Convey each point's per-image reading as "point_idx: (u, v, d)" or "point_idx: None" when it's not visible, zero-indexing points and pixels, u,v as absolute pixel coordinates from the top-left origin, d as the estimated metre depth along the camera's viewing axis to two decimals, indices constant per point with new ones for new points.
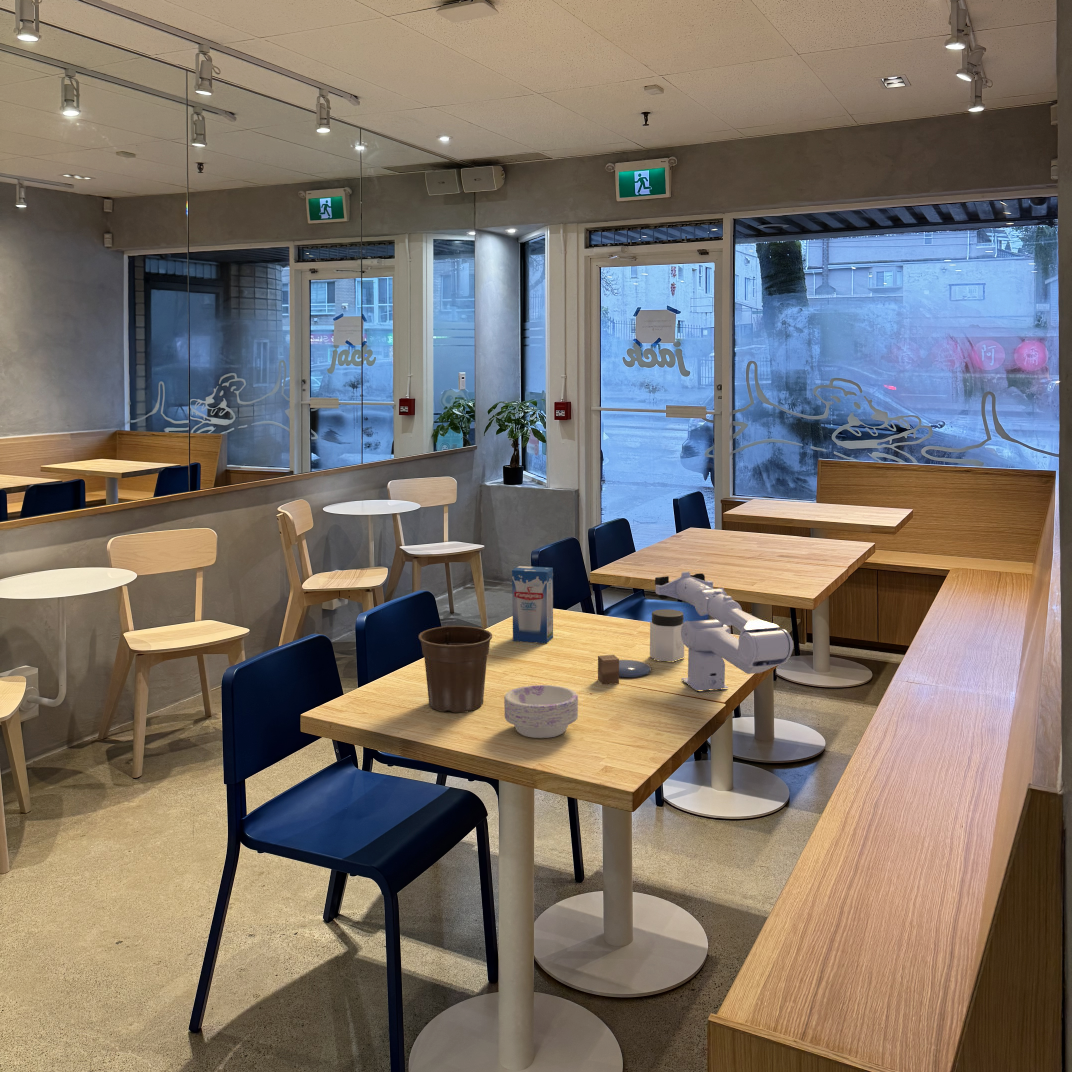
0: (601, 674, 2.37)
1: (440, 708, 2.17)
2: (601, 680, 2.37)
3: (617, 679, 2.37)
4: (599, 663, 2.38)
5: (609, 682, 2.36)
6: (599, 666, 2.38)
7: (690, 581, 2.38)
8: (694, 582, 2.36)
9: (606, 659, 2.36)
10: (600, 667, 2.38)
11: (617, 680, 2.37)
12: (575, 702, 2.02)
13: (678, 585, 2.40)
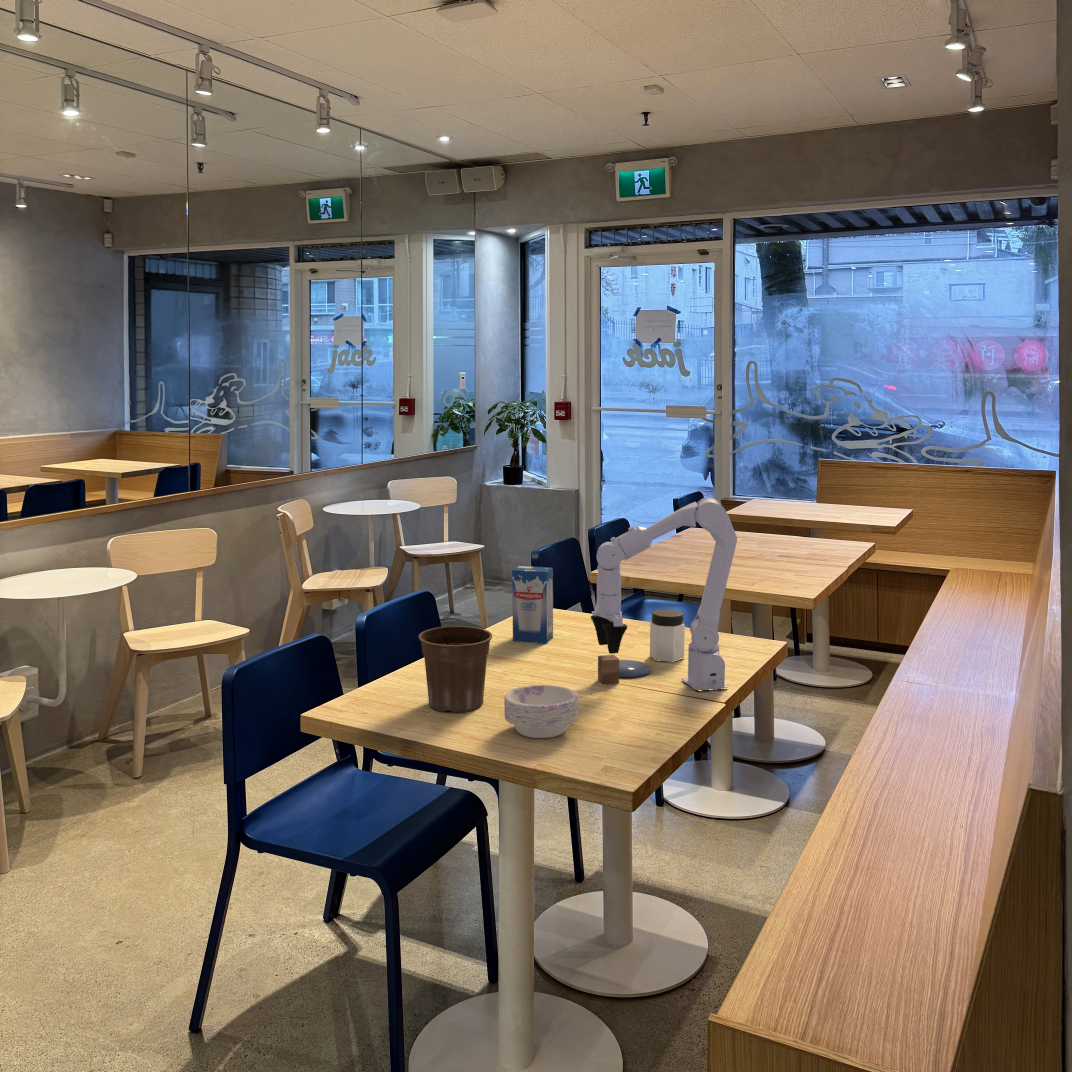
0: (601, 674, 2.37)
1: (440, 708, 2.17)
2: (601, 680, 2.37)
3: (617, 679, 2.37)
4: (599, 663, 2.38)
5: (609, 682, 2.36)
6: (599, 666, 2.38)
7: (599, 596, 2.34)
8: (597, 588, 2.35)
9: (606, 659, 2.36)
10: (600, 667, 2.38)
11: (617, 680, 2.37)
12: (575, 702, 2.02)
13: (607, 609, 2.33)
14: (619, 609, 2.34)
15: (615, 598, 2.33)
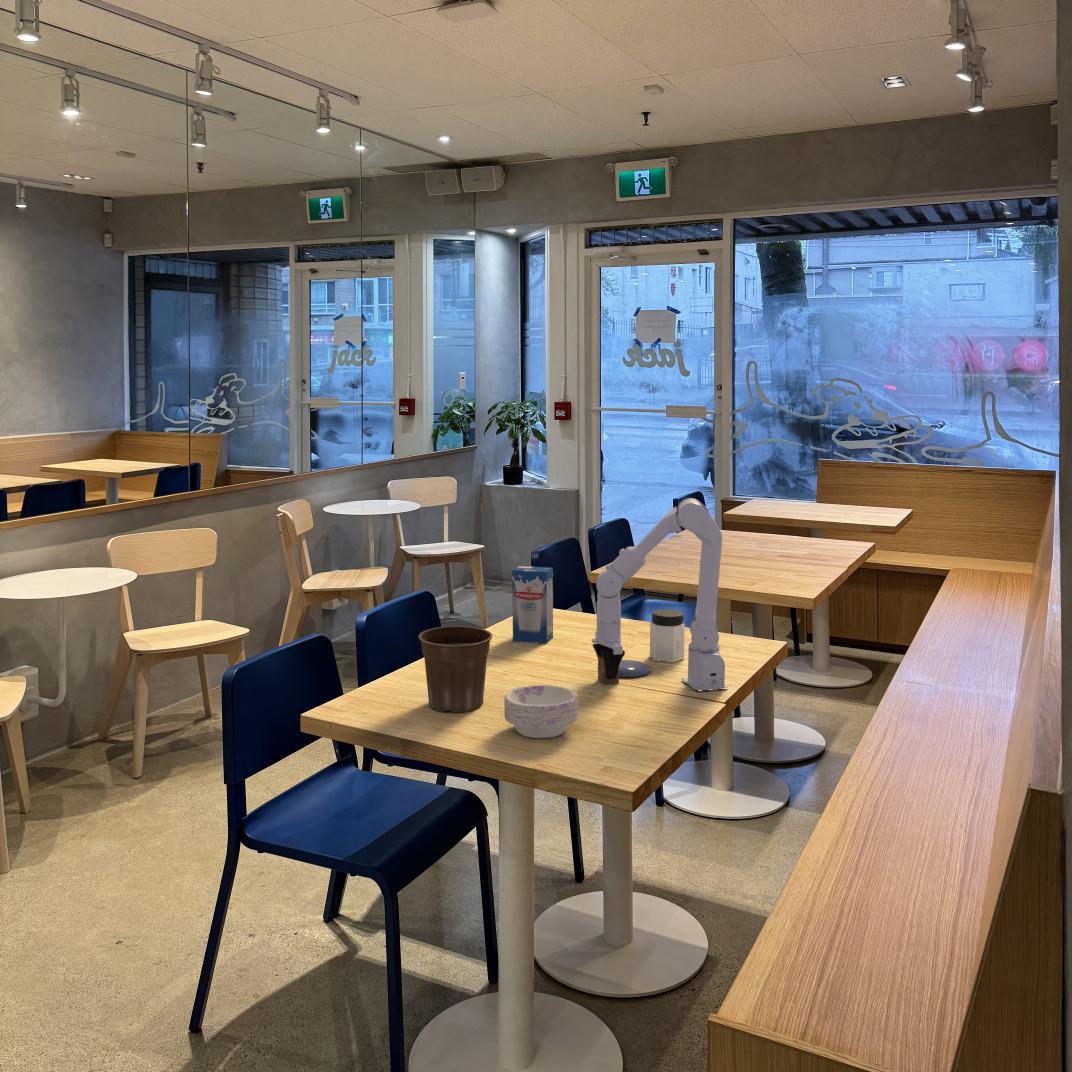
0: (601, 674, 2.37)
1: (440, 708, 2.17)
2: (601, 680, 2.37)
3: (617, 679, 2.37)
4: (599, 663, 2.38)
5: (609, 682, 2.36)
6: (599, 666, 2.38)
7: (598, 623, 2.35)
8: None
9: None
10: (600, 666, 2.38)
11: (617, 680, 2.37)
12: (575, 702, 2.02)
13: (607, 637, 2.34)
14: (619, 636, 2.35)
15: (615, 626, 2.34)
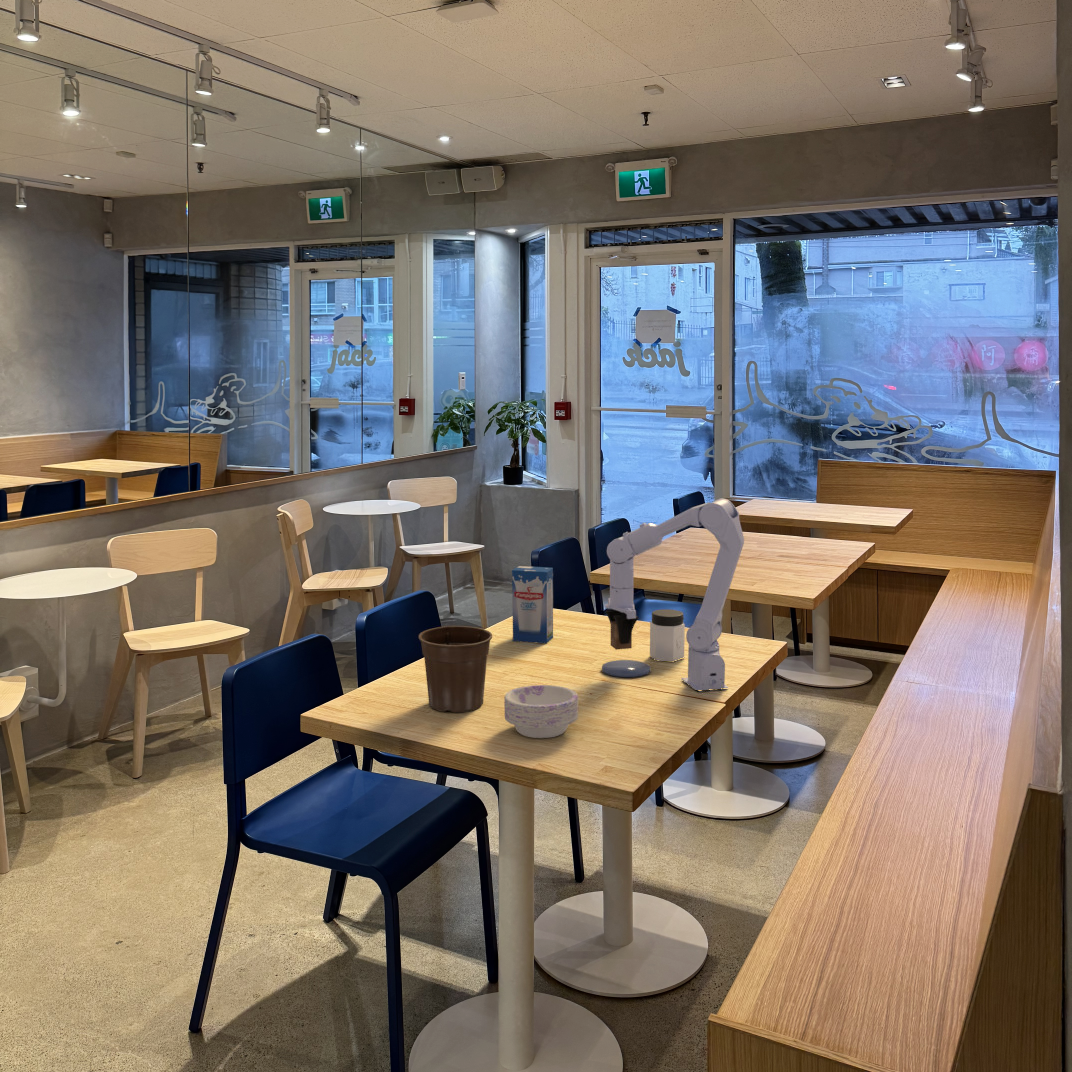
0: (614, 639, 2.41)
1: (440, 708, 2.17)
2: (614, 645, 2.42)
3: (629, 644, 2.41)
4: (612, 629, 2.43)
5: (622, 647, 2.41)
6: (612, 631, 2.43)
7: (612, 589, 2.39)
8: None
9: None
10: (613, 632, 2.42)
11: (630, 645, 2.42)
12: (575, 702, 2.02)
13: (620, 602, 2.39)
14: (632, 602, 2.40)
15: (628, 591, 2.38)
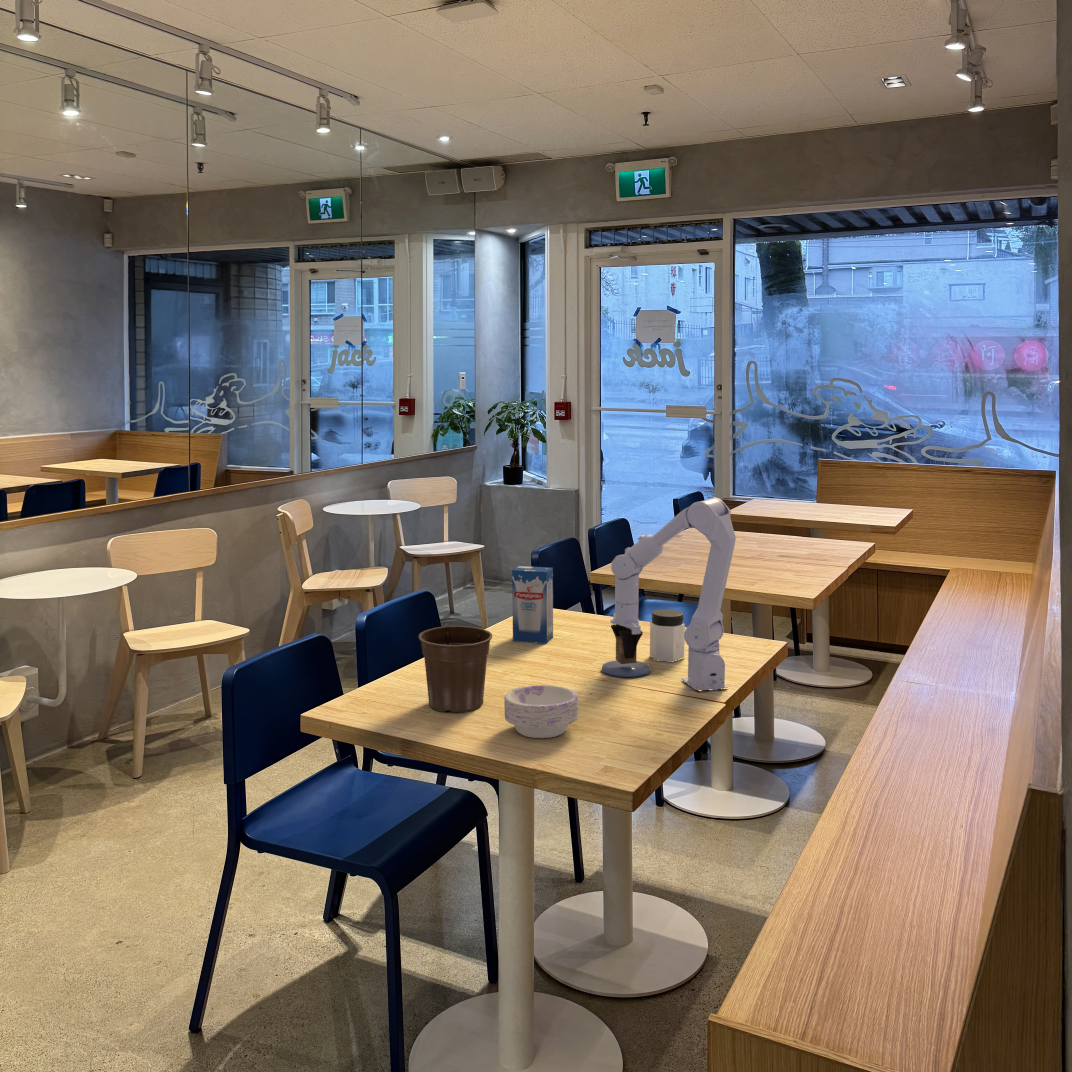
0: (619, 654, 2.45)
1: (440, 708, 2.17)
2: (619, 660, 2.45)
3: (634, 659, 2.45)
4: (617, 644, 2.46)
5: (627, 661, 2.44)
6: (617, 646, 2.46)
7: (617, 604, 2.43)
8: None
9: None
10: (618, 647, 2.46)
11: (634, 660, 2.45)
12: (575, 702, 2.02)
13: (625, 618, 2.42)
14: (637, 617, 2.43)
15: (633, 607, 2.42)
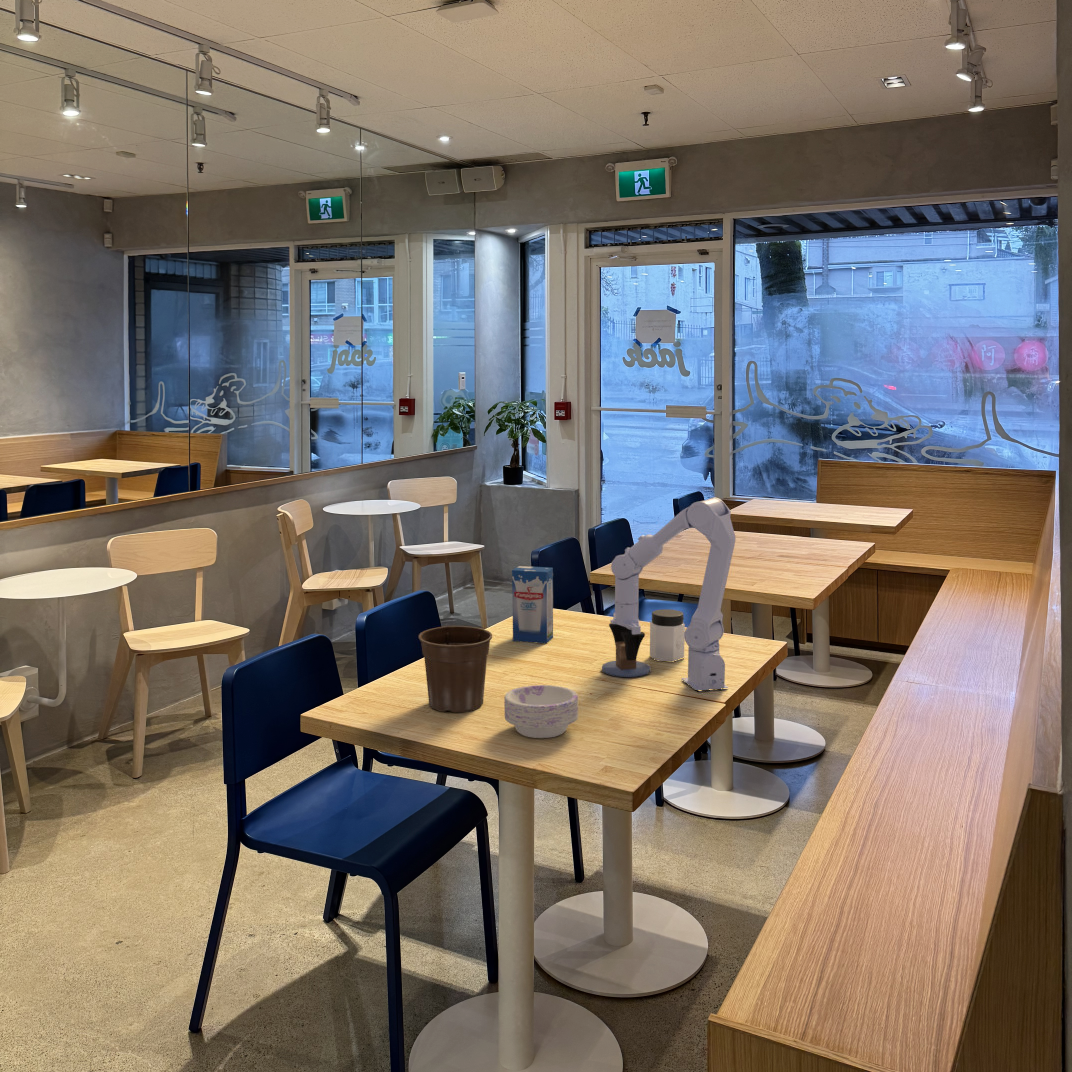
0: (619, 659, 2.45)
1: (440, 708, 2.17)
2: (619, 665, 2.45)
3: (634, 664, 2.45)
4: (617, 649, 2.46)
5: (627, 667, 2.45)
6: (617, 652, 2.46)
7: (617, 604, 2.43)
8: None
9: (624, 645, 2.44)
10: (618, 652, 2.46)
11: (634, 665, 2.45)
12: (575, 702, 2.02)
13: (625, 618, 2.42)
14: (637, 617, 2.43)
15: (633, 607, 2.42)
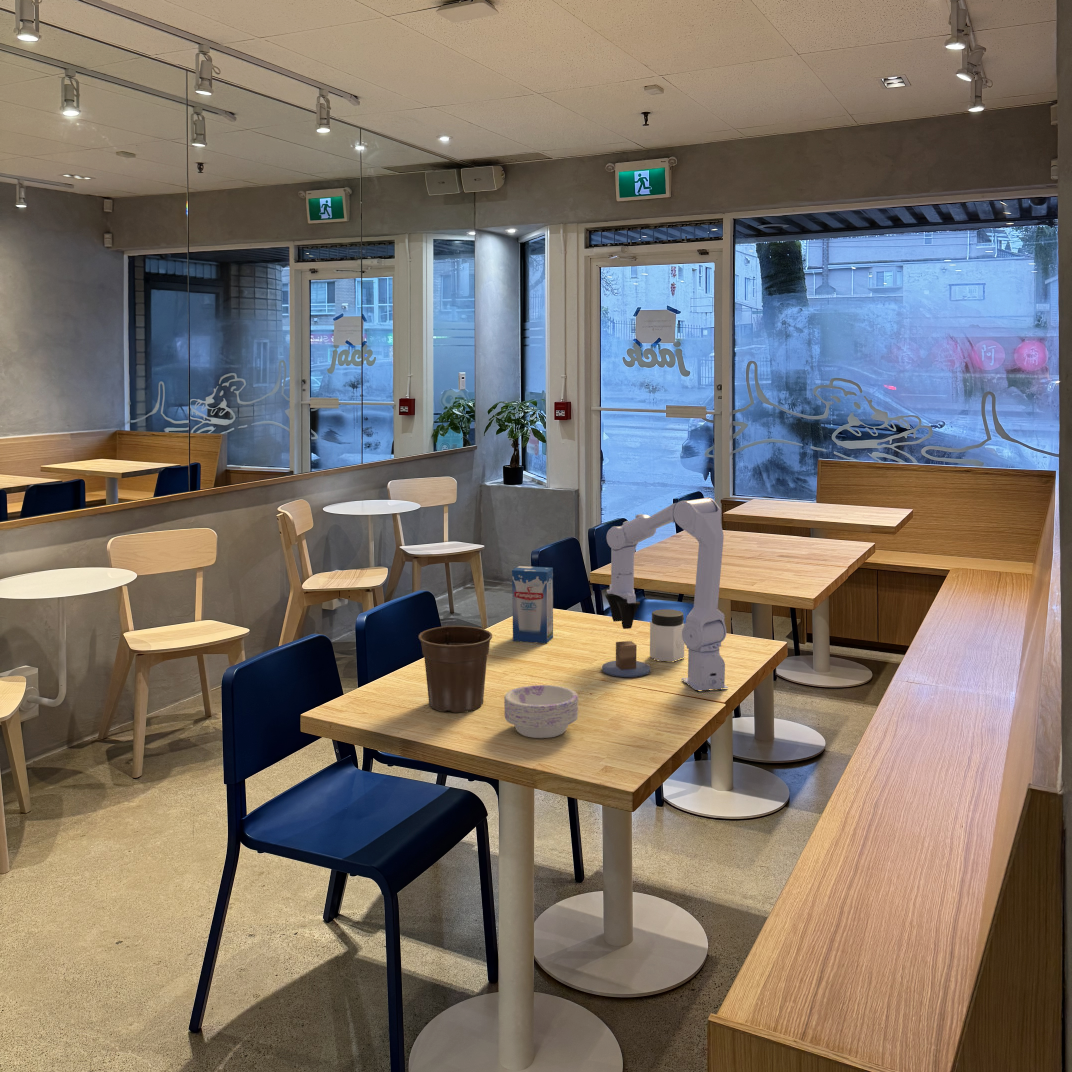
0: (619, 659, 2.45)
1: (440, 708, 2.17)
2: (619, 665, 2.45)
3: (634, 664, 2.45)
4: (617, 649, 2.46)
5: (627, 667, 2.45)
6: (617, 652, 2.46)
7: (613, 575, 2.51)
8: None
9: (624, 645, 2.44)
10: (618, 652, 2.46)
11: (634, 665, 2.45)
12: (575, 702, 2.02)
13: (621, 588, 2.50)
14: (632, 587, 2.51)
15: (628, 577, 2.50)
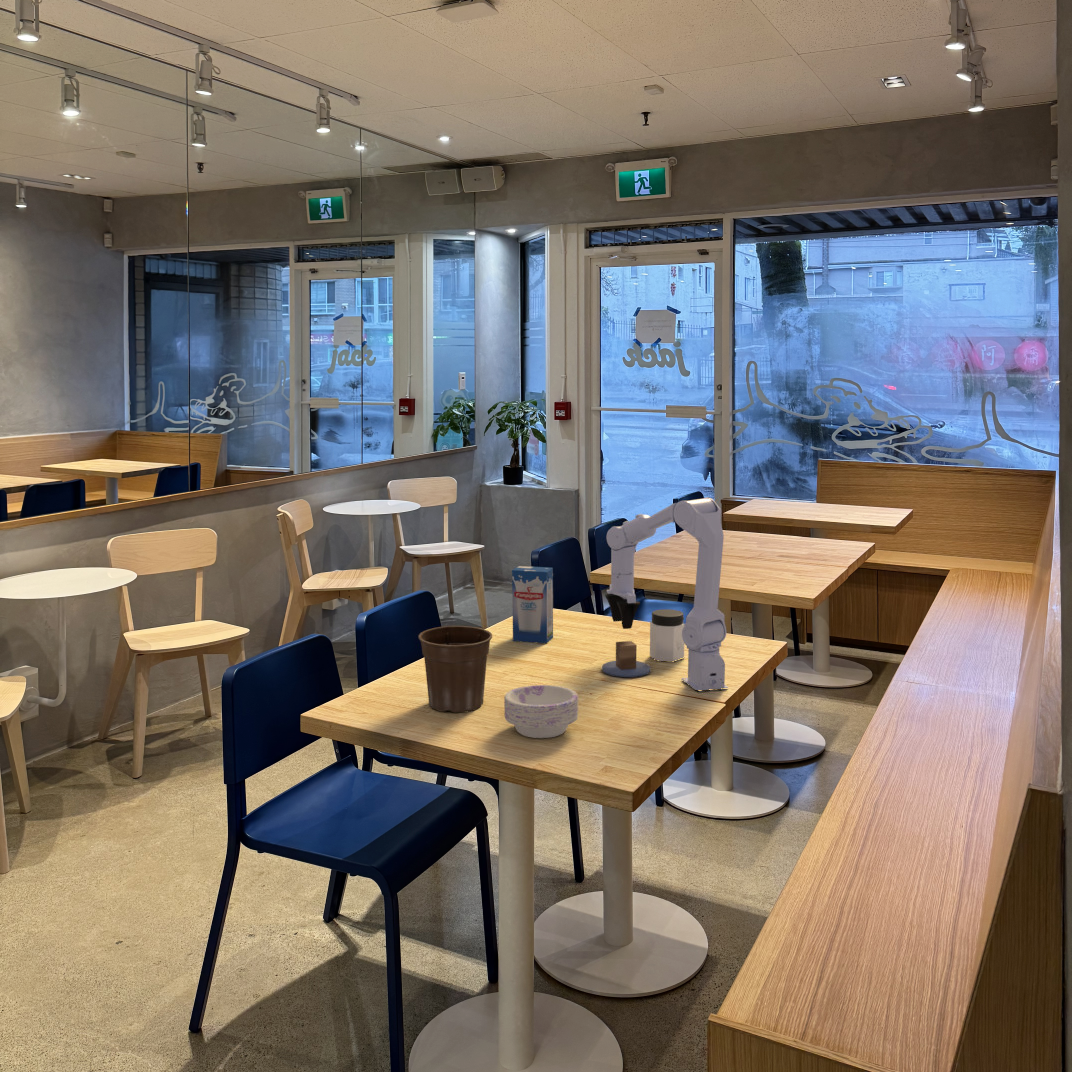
0: (619, 659, 2.45)
1: (440, 708, 2.17)
2: (619, 665, 2.45)
3: (634, 664, 2.45)
4: (617, 649, 2.46)
5: (627, 667, 2.45)
6: (617, 652, 2.46)
7: (613, 575, 2.51)
8: None
9: (624, 645, 2.44)
10: (618, 652, 2.46)
11: (634, 665, 2.45)
12: (575, 702, 2.02)
13: (621, 588, 2.50)
14: (632, 587, 2.51)
15: (628, 577, 2.50)
